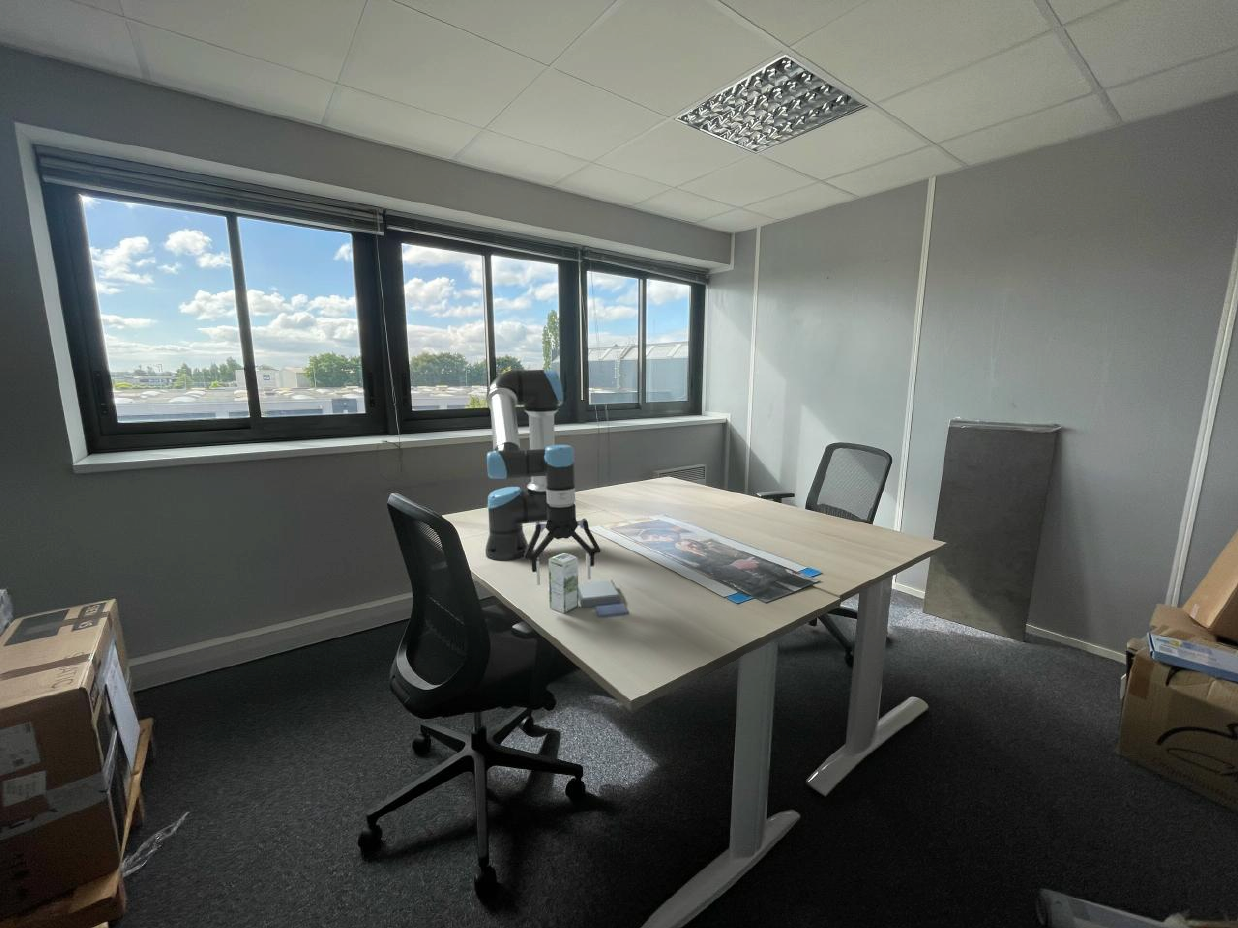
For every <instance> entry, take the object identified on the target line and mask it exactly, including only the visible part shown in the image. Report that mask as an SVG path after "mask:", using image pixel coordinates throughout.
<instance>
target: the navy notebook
mask: <svg viewBox="0 0 1238 928" xmlns="http://www.w3.org/2000/svg"><path fill="white" fill-rule="evenodd" d="M594 609H595V613H596V615H597V617H598V618H607V617H615V616H623V615H629V611H628V609H627V607H626V605H625V603H624V602H623V603H618V604H609V605H601V606H594Z"/></svg>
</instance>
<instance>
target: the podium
mask: <svg viewBox="0 0 1238 928" xmlns="http://www.w3.org/2000/svg"><path fill="white" fill-rule="evenodd" d="M621 598H622V597H621V594H620V592H619V590H618V588H617V586H616V585H615V583H614V581H613V579H606V580H605V579H604V580H597V581H587V582H578V603H580V605H579V606H580V607H581V608H590V607H591V608H592V607H597V606H605V605H613V604H622V603H621V602H622V601H621Z"/></svg>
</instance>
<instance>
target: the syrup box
mask: <svg viewBox="0 0 1238 928" xmlns="http://www.w3.org/2000/svg"><path fill="white" fill-rule="evenodd" d="M578 583H579V558H578V557H577V556H574V555H573V554H570V553H566V552H563V553H560V554H557V555H554V556H552V557H549V558H548V586H549V590H548V596H549V608H550V609H552V610H554V611H558V612H560V613H563V614H565V613H568V612H569V611H572V610H573V609H575V608H576V607H579V599H578Z"/></svg>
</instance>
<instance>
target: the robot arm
mask: <svg viewBox="0 0 1238 928" xmlns="http://www.w3.org/2000/svg"><path fill="white" fill-rule="evenodd" d="M563 393H564V392H563V387H562V382H561V379H560V376H559V374H558V372H557V371H555V370H548V369H530V370H529V369H526V370H525V369H523V370H521V369H520V370H519V369H518V370H516V369H515V370H513V369H512V370H508V371H504V372H503V373H501V374H500V375H498V376H497V377H496V378H494V380H493V381H492V382H491V384H490V385H489V387H488V389H487V393H486V403H487V406H488V408H489V409H490V418H491V421H490V422H491V436H492V448H493V450H492V451H488V452H487V453H486V464H487V465H486V466H487V467H486V469H487V477H488V478H490V479H491V480H492V479H493V480H495V479H496V480H497V479H499V480H507V479H519V478H530V480H531V481H530V482H529V483H528V484H527V485H526V490H522V489H521V487H519V486H507V487H502V488H498V489H495V490H493V491H492V492H490V493H489V494H488V495H487V509H488V526H489V527H488V529H489V534H488V538H487V541H486V545H485V556H486V557H487V558H488V559H491V560H497V561H508V560H515V559H519V558H522V557H524V559H525V560H529V561H531V570H532V573H536V574H535V575H536V577H535V578H536V585H537V586H540V585H541V575H540V574H541V572H540V558H539V557H540V556H541V554H542V553H543V552H544V550H545V549H546V548H547V547H548V545H550V543H551V542H553V540H554V539H556V540H562V539H564V540H565V539H569V538H571V537H572V538H573V539H574V540H575V541H576V542H577V543H578V544H579V545H580V546H581V547H582V548H583V549H584V550H585V551H586V553H585V569H586V570H585V571H586V573H585V575H586V578H587V580H591V578H592V576H591V567H594V566H595V555H596V554H600V552H601V548H600V547H599V545H598V544H599V543H597V541H596V539H595V537H594V536H593V534H592V532H591V530H590V527H589V522H588V520H587V519H586V518H583V519H581V520H577V515H576V513H577V512H576V510H577V509H576V506H577V505H576V504H575V502H576V486H575V485H576V483H575V482H576V481H575V477H576V476H575V461H576V460H575V459H576V458H575V453H574V452H575V451H574V447H573V446H571V445H569V444H555V441H556V440H555V415H556V413H557V412H558V411H559V406H561V405H562V404H564V403H563V402H564V397H563V396H564V394H563ZM517 406H523V410H524V412H525V413H526V414H528V424H529V426H528V427H529V429H528V430H529V449H521V444H520V443H521V442H520V433H519V428H518V427H519V425H518V420H517V419H518V418H517V411H516V407H517ZM534 523H535V528H534V532H533V534H532V535H531V538H530V541H529V543H528V541H527V540H528V539H527V538H526V535H525V533H524V529H523V525H524V524H534ZM578 527H580V528H581V529H583V530H584V531H585V532H584V533H585V534H586V536H587V537H588V539H589V541H590V543H591V544H592V546H593V547H591V546H590V545H589V544H588V543H587V542H586V541H585V540H584V539H583V538H582V537H581V536H580V534H578V533H577V532H576V529H577V528H578ZM545 529H546V530H547V531H548V532H547V534H546V536H545V537H544V539H543V540H542V541H541V542H540V544H539V545H538V546H537V547H536V549H535V546H536V543H537V542H538V539H539V537H540V535H541V533H542V532H544V530H545ZM534 549H535V550H534Z"/></svg>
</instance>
